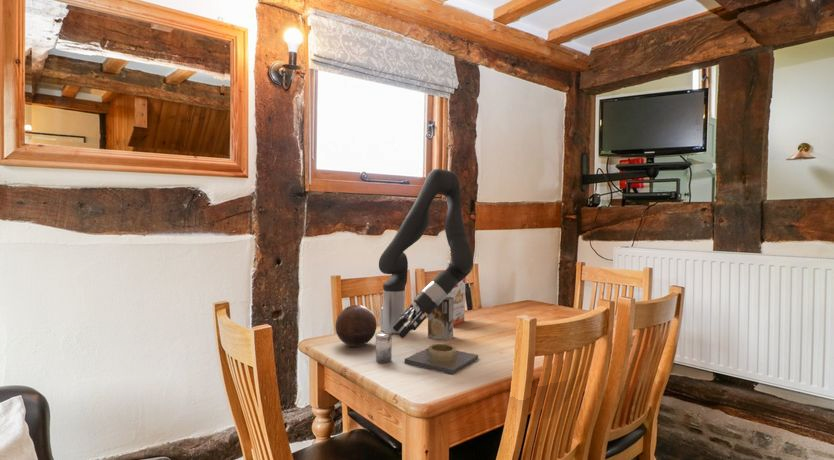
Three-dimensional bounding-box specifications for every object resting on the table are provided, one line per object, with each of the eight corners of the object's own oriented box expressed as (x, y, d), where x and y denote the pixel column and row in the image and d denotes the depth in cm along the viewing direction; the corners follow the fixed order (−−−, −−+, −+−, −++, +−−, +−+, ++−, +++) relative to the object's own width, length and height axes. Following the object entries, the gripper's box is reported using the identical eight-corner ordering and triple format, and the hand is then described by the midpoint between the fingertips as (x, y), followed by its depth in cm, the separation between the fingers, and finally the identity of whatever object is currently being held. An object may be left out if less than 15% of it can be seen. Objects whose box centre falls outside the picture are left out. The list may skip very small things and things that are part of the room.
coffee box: (454, 336, 178) (454, 297, 178) (449, 340, 173) (449, 299, 172) (432, 334, 182) (433, 295, 181) (426, 338, 176) (427, 297, 175)
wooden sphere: (383, 348, 162) (383, 307, 162) (344, 354, 154) (344, 311, 154) (366, 338, 175) (366, 300, 174) (329, 343, 167) (329, 303, 167)
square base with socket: (404, 363, 145) (404, 349, 145) (432, 349, 161) (433, 337, 160) (453, 374, 136) (453, 360, 136) (478, 359, 151) (478, 346, 151)
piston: (372, 361, 147) (372, 334, 147) (382, 357, 151) (382, 331, 151) (385, 364, 144) (385, 337, 144) (394, 360, 148) (394, 333, 148)
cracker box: (451, 327, 193) (452, 279, 192) (439, 325, 196) (439, 278, 195) (465, 321, 205) (466, 276, 204) (453, 319, 208) (454, 275, 207)
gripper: (417, 286, 157) (385, 320, 154) (429, 293, 143) (394, 331, 141) (431, 301, 159) (400, 335, 156) (444, 309, 145) (410, 346, 142)
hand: (397, 333), depth 148 cm, fingers open, 8 cm apart
